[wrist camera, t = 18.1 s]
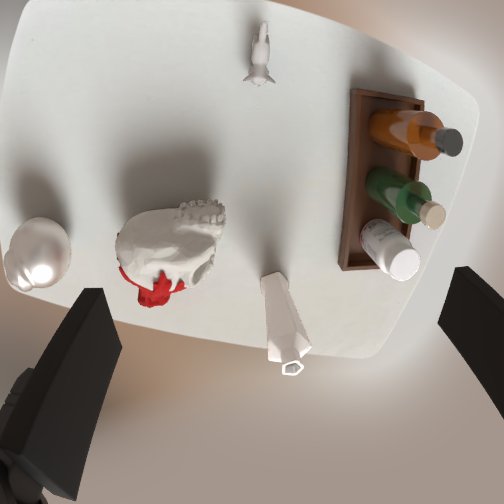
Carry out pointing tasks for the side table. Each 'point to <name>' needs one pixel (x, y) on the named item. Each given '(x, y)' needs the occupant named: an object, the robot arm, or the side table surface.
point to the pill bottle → (390, 249)
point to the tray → (359, 165)
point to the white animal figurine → (260, 58)
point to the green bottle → (404, 197)
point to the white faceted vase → (283, 325)
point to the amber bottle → (414, 133)
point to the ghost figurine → (37, 254)
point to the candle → (169, 248)
